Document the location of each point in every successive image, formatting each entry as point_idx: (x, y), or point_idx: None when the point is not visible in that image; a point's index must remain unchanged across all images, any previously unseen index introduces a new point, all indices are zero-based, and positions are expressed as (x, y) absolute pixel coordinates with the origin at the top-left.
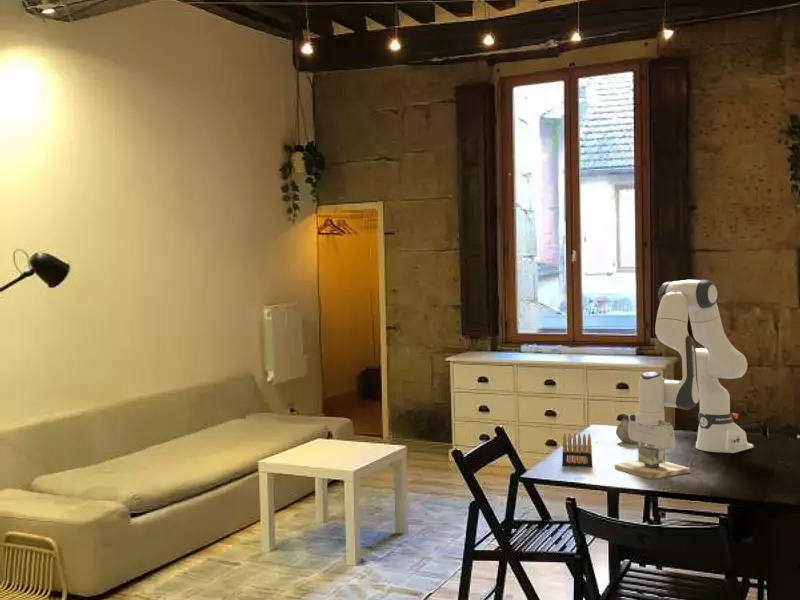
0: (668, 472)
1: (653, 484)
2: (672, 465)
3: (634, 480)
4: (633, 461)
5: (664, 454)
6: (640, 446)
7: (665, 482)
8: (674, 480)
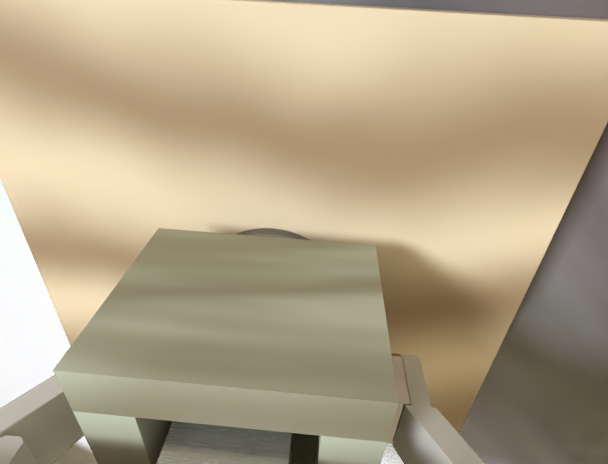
0: (509, 316)
1: (528, 457)
2: (385, 106)
3: (396, 461)
4: (51, 280)
5: (383, 325)
6: (52, 462)
7: (569, 404)
8: (602, 344)
